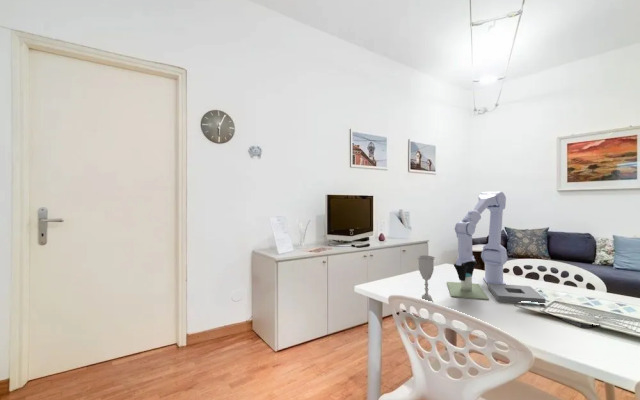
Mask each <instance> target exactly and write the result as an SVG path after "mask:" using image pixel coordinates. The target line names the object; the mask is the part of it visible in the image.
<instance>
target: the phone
mask: <svg viewBox="0 0 640 400" xmlns="http://www.w3.org/2000/svg"><path fill="white" fill-rule="evenodd" d="M561 320H562V321H565V322H567V323H568V324H569V323H570V324H572V325H574V326H576V327H579V328H583V329H585V328H593V327H592V325H591V326H590V325H587V324H583V323H579V322H574V321H571V320H567V319H561Z"/></svg>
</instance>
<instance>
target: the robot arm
mask: <svg viewBox="0 0 640 400" xmlns="http://www.w3.org/2000/svg"><path fill="white" fill-rule="evenodd" d="M506 203H507V197H506V195H505V194H504V192H503V191H481V192H480V194H479V195H478V202H477V203H476V205H475V206H474V208H473V209H471V210H468V212H467V213H466V215H465V216H464V217H463V219H462V220H461V221H458V222H456V224H455V226H454V232H455V234H456V235H455V236H456V237H457V259H456V260H455V263H453V267H454V269H455V271H456V273H457V277H458V279H459V281H460V282H461V281H465V278H466V273H470V274H472V276H473V274H474V271H475V268H476V265H477V263H478V262H477V261H476V259H475V256H474V255H473V235H474V234H475V231H476V228H477V224H478V223H479V222H480V220H481V219H482V216H481V215H482V213H483V212H484V211H485V210H486V209H487V210H488V211H489V212H490V213H489V215H490V216H489V229H488V243H486V244H485V245H483V246H482V251H481V254H480V257H481V259H482V262H483V263H484V264H485V265H484V274H485V275H484V276H483V277H482V278H483V280H484V281H485V282H486V283H487V284H488V285H489V284H504V285H507V282H505V281H504V265H505V264H506V263H507V261H508V253H507V249H506V247H504V246H503V245H502V244H501V242H502V241H501V238H502V226H503V215H504V213H503V211H504V210H505V209H506Z"/></svg>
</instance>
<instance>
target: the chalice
mask: <svg viewBox="0 0 640 400" xmlns="http://www.w3.org/2000/svg"><path fill="white" fill-rule="evenodd" d="M417 260H418V271H419V274H420V276H421V277H422V279H423V280H424V292H425V293H423V294H422V295H421V298H422V299H425V300H428V301H432V303H434V300H433V298H432V296H431V294H429V287H428V286H429V283H428V281H429V280H431V278H432V276H433V274H434V263H435V262H434V260H435V256H431V255H418V256H417ZM421 298H420V299H421Z"/></svg>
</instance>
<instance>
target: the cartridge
mask: <svg viewBox="0 0 640 400" xmlns="http://www.w3.org/2000/svg"><path fill="white" fill-rule="evenodd" d="M460 283H461V290H463V291H472V283H473V275H472V274H470V273H466V278H465V281H461V280H460Z"/></svg>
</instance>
